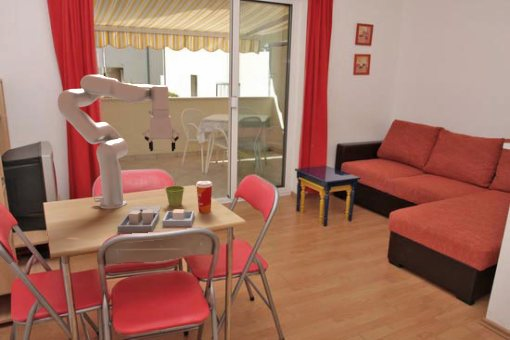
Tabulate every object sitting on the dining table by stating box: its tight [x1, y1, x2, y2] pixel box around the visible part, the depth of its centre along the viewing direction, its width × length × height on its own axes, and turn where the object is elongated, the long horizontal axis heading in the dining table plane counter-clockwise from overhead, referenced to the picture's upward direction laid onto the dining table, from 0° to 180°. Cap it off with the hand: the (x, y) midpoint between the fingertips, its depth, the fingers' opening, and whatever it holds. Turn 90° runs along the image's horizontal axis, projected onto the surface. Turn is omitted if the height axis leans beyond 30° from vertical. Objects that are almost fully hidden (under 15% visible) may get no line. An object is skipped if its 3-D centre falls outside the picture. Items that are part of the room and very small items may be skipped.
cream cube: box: [172, 208, 186, 220], centre depth 174 cm, size 4×4×4 cm
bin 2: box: [161, 210, 195, 227], centre depth 174 cm, size 12×12×3 cm
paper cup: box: [195, 180, 213, 214], centre depth 187 cm, size 8×8×14 cm
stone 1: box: [129, 211, 142, 223], centre depth 173 cm, size 4×4×4 cm
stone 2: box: [142, 209, 154, 223], centre depth 173 cm, size 4×4×4 cm
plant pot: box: [164, 185, 185, 207], centre depth 196 cm, size 9×9×9 cm
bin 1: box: [117, 212, 160, 233], centre depth 170 cm, size 14×16×3 cm
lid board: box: [124, 205, 162, 217], centre depth 185 cm, size 14×14×2 cm
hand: (162, 150), depth 184 cm, fingers open, 9 cm apart
